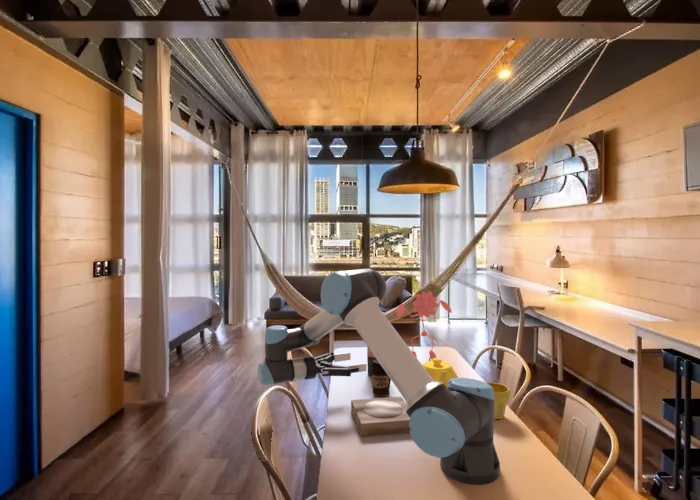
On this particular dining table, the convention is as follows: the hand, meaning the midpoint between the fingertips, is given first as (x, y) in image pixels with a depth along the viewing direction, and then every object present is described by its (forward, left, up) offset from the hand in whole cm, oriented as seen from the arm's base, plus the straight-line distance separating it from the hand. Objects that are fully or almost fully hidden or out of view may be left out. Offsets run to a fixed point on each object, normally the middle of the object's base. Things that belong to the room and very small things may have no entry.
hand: (357, 361), depth 154 cm
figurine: (+31, -38, -14) cm, 51 cm away
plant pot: (-22, -43, -14) cm, 50 cm away
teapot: (-2, -31, -14) cm, 34 cm away
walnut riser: (-20, -5, -14) cm, 25 cm away
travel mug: (+24, -13, -14) cm, 31 cm away
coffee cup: (+2, -10, -14) cm, 17 cm away
